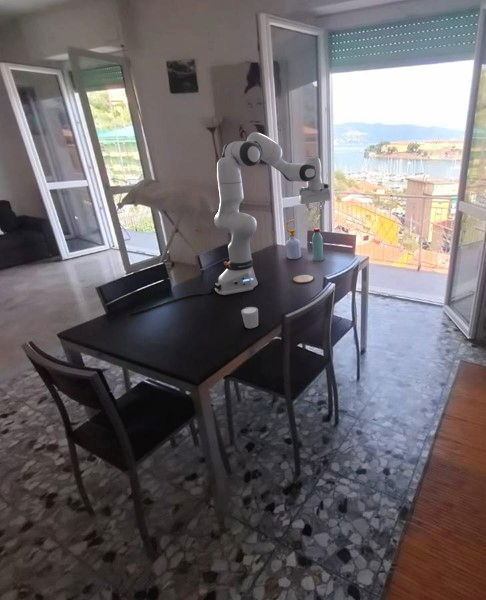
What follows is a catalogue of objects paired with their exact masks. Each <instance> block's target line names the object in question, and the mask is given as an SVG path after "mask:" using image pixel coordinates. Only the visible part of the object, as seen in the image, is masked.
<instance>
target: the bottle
mask: <svg viewBox="0 0 486 600" xmlns="http://www.w3.org/2000/svg"><path fill="white" fill-rule="evenodd" d="M311 242H312V259H313V261H315V262H322V261H324V244H323V243H324V242H323V236H322V234H321V232H313V235H312V237H311Z"/></svg>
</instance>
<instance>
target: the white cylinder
mask: <svg viewBox="0 0 486 600" xmlns="http://www.w3.org/2000/svg"><path fill="white" fill-rule="evenodd" d="M240 312H241V317H242V321H243V324H244V327H245V328H247V329H255V328H256V327H258V326H259V309H258V307H256V306H248V307H247V306H246V307H244V308H243V309H241V311H240Z"/></svg>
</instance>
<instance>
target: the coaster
mask: <svg viewBox="0 0 486 600" xmlns="http://www.w3.org/2000/svg"><path fill="white" fill-rule="evenodd" d="M292 280H293V283H295V284H309V283H312V282H313V281H314V276H313V275H310V274H300V275H296V276H294V277H293V279H292Z"/></svg>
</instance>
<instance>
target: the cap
mask: <svg viewBox="0 0 486 600" xmlns="http://www.w3.org/2000/svg"><path fill="white" fill-rule="evenodd" d="M312 229H313V230H312V231H313V233H315V232H319V233H321V228H320V227H314V228H312Z"/></svg>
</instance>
